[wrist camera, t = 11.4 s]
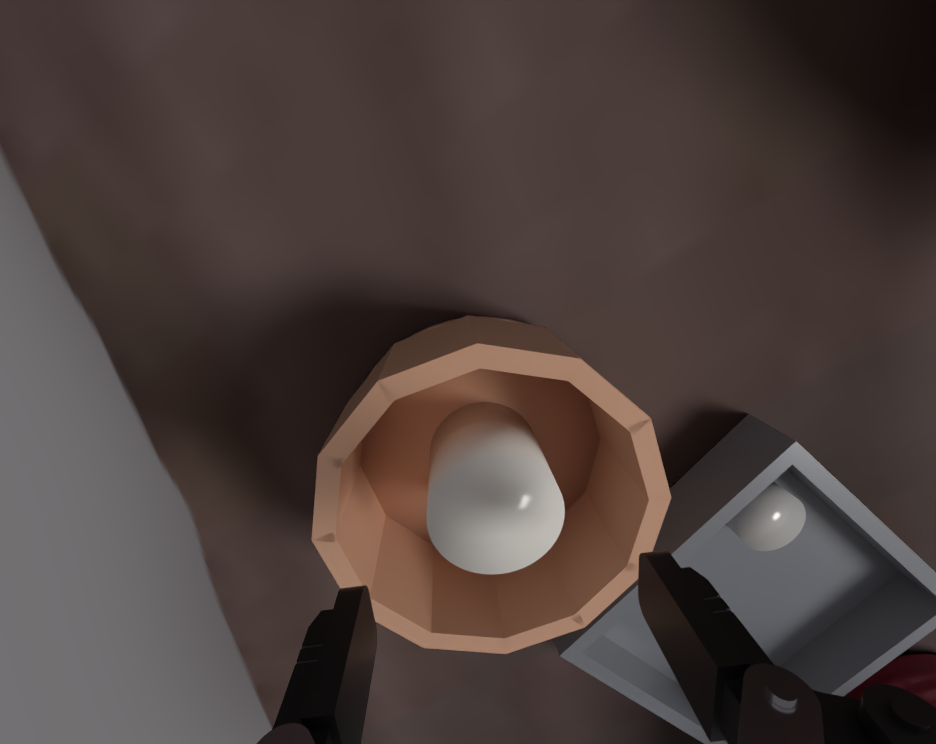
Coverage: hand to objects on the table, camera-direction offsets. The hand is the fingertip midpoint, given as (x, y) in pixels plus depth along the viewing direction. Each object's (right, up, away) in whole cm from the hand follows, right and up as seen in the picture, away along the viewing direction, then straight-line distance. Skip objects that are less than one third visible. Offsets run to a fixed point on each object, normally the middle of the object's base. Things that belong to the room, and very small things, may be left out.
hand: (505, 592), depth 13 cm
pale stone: (0, +3, +8) cm, 8 cm away
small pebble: (+13, 0, +10) cm, 16 cm away
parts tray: (+14, -6, +12) cm, 19 cm away
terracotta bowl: (0, +3, +8) cm, 9 cm away
